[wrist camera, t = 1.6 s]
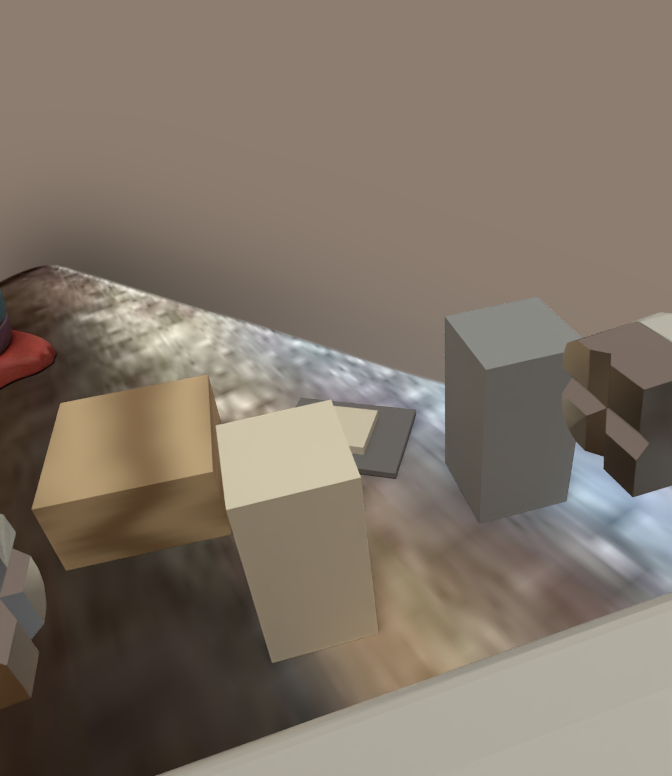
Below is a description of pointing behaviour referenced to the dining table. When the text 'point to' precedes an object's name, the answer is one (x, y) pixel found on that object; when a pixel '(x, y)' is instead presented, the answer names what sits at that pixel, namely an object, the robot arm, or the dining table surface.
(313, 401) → the card
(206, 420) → the oak pedestal
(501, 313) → the grey block
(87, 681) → the dining table surface
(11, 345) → the stacking bear
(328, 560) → the cream block
